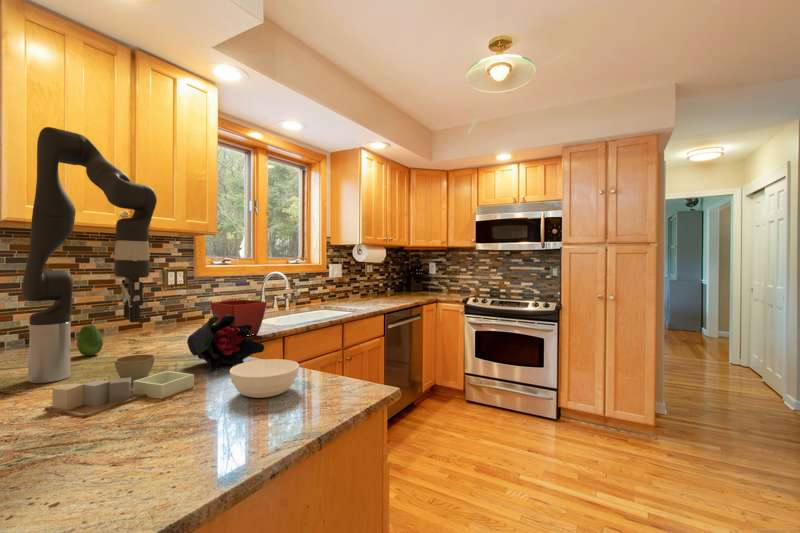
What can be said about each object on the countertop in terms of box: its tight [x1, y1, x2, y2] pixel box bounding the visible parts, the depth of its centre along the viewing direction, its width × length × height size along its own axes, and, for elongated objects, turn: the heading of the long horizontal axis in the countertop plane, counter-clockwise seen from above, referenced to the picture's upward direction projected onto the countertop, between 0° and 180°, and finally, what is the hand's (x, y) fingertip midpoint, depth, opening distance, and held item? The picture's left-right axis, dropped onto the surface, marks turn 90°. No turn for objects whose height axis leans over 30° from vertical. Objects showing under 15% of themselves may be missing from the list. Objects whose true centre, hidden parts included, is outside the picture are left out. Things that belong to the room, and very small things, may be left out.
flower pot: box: [114, 353, 156, 384], centre depth 114 cm, size 10×10×7 cm
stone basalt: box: [109, 377, 132, 403], centre depth 97 cm, size 4×4×5 cm
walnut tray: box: [44, 389, 148, 419], centre depth 95 cm, size 14×16×1 cm
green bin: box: [132, 370, 195, 400], centre depth 105 cm, size 10×10×4 cm
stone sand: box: [51, 383, 83, 410], centre depth 92 cm, size 4×4×5 cm
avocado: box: [76, 323, 104, 357], centre depth 144 cm, size 8×8×12 cm
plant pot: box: [210, 299, 267, 335], centre depth 186 cm, size 19×19×17 cm
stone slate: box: [82, 379, 112, 406], centre depth 95 cm, size 4×4×5 cm
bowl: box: [229, 358, 300, 399], centre depth 105 cm, size 18×18×7 cm
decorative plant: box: [186, 314, 265, 372], centre depth 130 cm, size 21×26×30 cm
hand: (131, 320), depth 99 cm, fingers open, 8 cm apart
